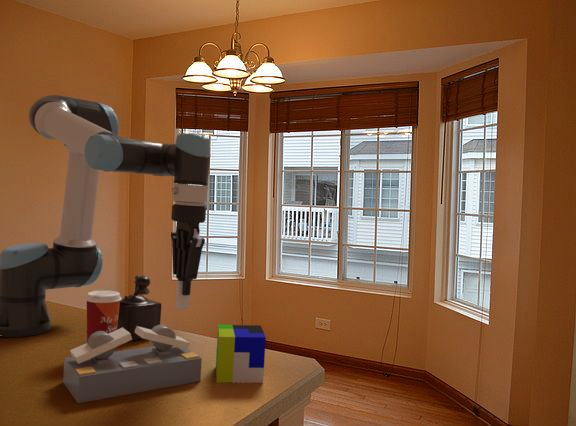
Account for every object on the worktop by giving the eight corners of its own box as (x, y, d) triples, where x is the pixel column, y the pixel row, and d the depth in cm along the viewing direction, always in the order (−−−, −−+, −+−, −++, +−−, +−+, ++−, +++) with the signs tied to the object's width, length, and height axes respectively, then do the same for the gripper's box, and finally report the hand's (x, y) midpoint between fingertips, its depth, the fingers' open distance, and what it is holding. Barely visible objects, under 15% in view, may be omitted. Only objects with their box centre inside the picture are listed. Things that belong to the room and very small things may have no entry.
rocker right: (131, 339, 109) (139, 318, 110) (175, 350, 115) (182, 329, 116) (139, 346, 105) (147, 323, 106) (184, 356, 111) (192, 335, 112)
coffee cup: (106, 362, 116) (110, 298, 116) (74, 358, 118) (78, 294, 117) (125, 352, 124) (128, 291, 124) (95, 348, 126) (98, 288, 126)
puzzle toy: (263, 382, 110) (265, 337, 109) (216, 382, 108) (219, 336, 108) (258, 367, 120) (260, 325, 119) (215, 367, 118) (218, 324, 118)
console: (63, 382, 103) (64, 355, 103) (177, 364, 118) (178, 340, 118) (77, 403, 93) (79, 373, 93) (200, 381, 108) (201, 355, 108)
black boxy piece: (104, 334, 138) (107, 269, 138) (139, 328, 147) (142, 266, 146) (136, 347, 128) (140, 277, 128) (172, 340, 137) (175, 274, 136)
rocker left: (74, 364, 102) (67, 342, 101) (126, 340, 108) (120, 320, 107) (81, 371, 98) (73, 349, 97) (134, 346, 104) (128, 325, 103)
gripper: (162, 201, 115) (155, 303, 116) (186, 205, 105) (178, 317, 106) (192, 203, 120) (185, 301, 121) (218, 206, 109) (210, 314, 110)
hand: (182, 308), depth 113 cm, fingers closed
